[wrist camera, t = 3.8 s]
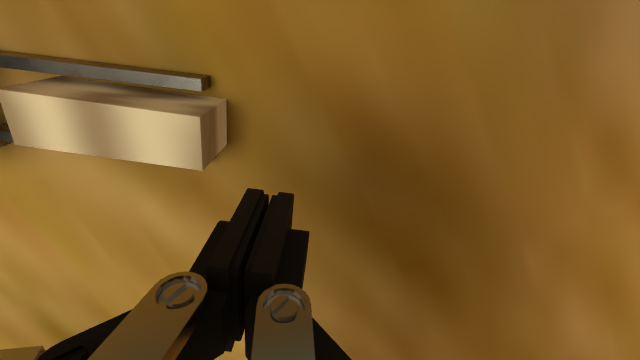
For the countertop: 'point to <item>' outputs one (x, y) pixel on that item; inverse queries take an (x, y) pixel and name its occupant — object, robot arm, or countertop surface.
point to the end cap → (4, 143)
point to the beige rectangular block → (116, 121)
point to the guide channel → (99, 74)
